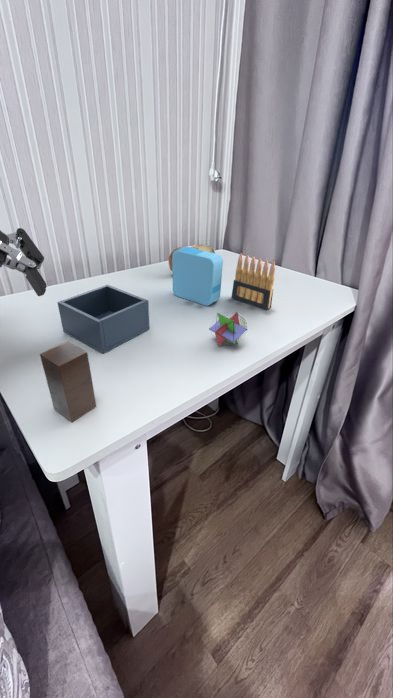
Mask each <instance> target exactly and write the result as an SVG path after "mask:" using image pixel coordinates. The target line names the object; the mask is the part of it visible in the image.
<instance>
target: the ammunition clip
mask: <svg viewBox="0 0 393 698" xmlns="http://www.w3.org/2000/svg"><path fill="white" fill-rule="evenodd" d="M249 257H250V256H249V254H247V253H246V255H245V258H244V260H243V253H242V252H240V253H239V255H238V257H237V264H236V269H235V275H234V279H233V282H232V283H233V284H232V291H231V296H230V298H231V299H232V300H234V301H238V302H239V303H240V302H241V303H244V304H246V305H250V306H253V307H256V308H258V309H262V310H264V311H269V310H271V308H272V305H273V304H272V302H273V297H274V296H273V294H274V284H275V272H276V262H275V260H273V261H272V262H271V265H270V268H269V260H268V259H267V258H266V259H265V261H264V264H263V262H262V261H263V260H262V257H259V259H258V261H257V263H256V256H255V255H253V256H252V258H251V259H250V258H249ZM250 260H251V261H250ZM243 261H244V262H243Z"/></svg>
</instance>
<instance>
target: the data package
mask: <svg viewBox="0 0 393 698" xmlns="http://www.w3.org/2000/svg"><path fill="white" fill-rule="evenodd" d="M183 247H184V248H181V249H179V250H176V251H174V250H173V251H174V253H173V272H172V292H173V294H174V296H176V297H179V298H182V299H185V300H187V301H190V302H193V303H196V304H200V305H203V306H206V307H208V306H210V305H212V304H214V303H215V302H216V301H218V300H219V299H220V298H221V291H222V290H221V289H222V279H223V267H224V259H223V257H222V255H220V254H219V253H216V252H215V253H212V252H208V251H203V250H199V249H195V248H191V247H187V246H183Z"/></svg>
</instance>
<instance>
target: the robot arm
mask: <svg viewBox="0 0 393 698" xmlns="http://www.w3.org/2000/svg"><path fill="white" fill-rule="evenodd" d="M10 244H11V245H14V247H12V246H10ZM17 249H19V250H17ZM9 257H10V258H9ZM44 260H45V256H44V255H43V253H42V252H41V251H40V249H39V248H38V247H37V245H36V244H35V242H34V241H33V240H32V238H31V236H29V234H28V233H27V232H26V230H25V229H24V228H21V227H19V228H17V229H16V231H15V232H11V233H8V234H7V233H5V232H3V230H1V229H0V268H2V267H3V266H4V267H6V268H8V269H10V270H16V271H18V272H20V273H22V274H24V275H25V279H26V280H27V282H28V283H29V285H30V286H31V288H32V290H33V291H34V292H35V293H36V296H38V297H42V296H44V295H45V294H46V291H47V289H46V288H47V287H48V286H47V283H46V280H44V277H43V276H42V275H41V273H40V272H39V270H40V269H41V267H42V265H43V263H44Z"/></svg>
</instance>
